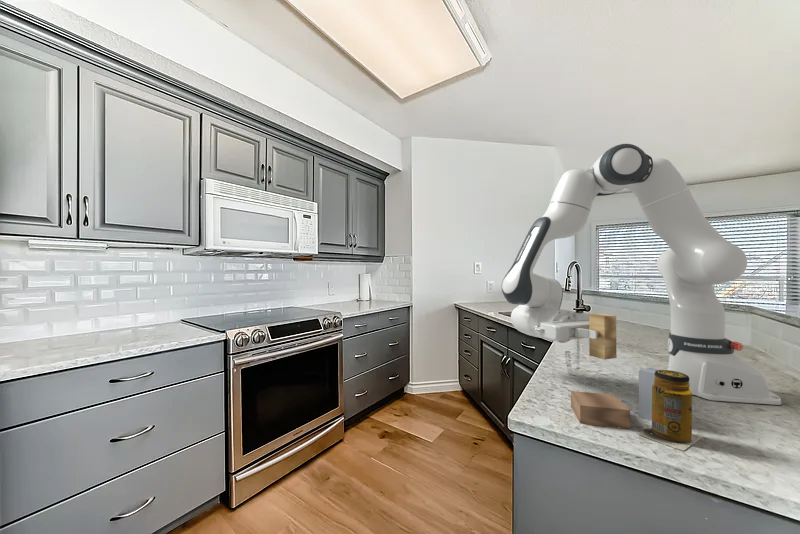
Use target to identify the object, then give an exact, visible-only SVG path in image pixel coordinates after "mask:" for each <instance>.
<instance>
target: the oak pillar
mask: <svg viewBox="0 0 800 534" xmlns="http://www.w3.org/2000/svg"><path fill="white" fill-rule="evenodd" d="M588 316H589V330H597V331H599V332H600V338H596V339H593V338H588V339H589V341H588V342H589V345H588V346H589V348H588V350H589V351H588V352H589V353H588V354H589V357H592V358H597V359H601V360H610V359H617V355H618V354H617V315H615V314H606V313H589V315H588Z"/></svg>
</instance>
